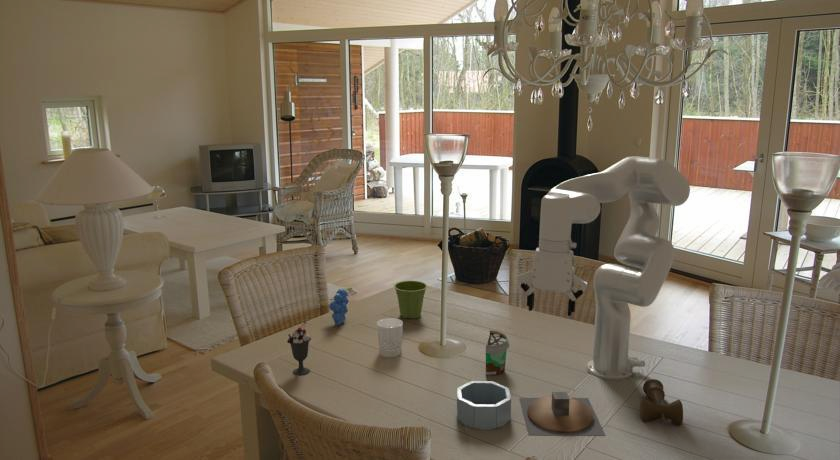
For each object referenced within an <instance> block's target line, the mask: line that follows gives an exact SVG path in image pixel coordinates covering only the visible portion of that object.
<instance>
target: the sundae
mask: <svg viewBox="0 0 840 460" xmlns="http://www.w3.org/2000/svg"><path fill="white" fill-rule="evenodd" d="M306 324H307V321H304V322H303V324H301V327H297V329H296V330H294V331H293V332H292V335H291V334H287V335H288V339H287V343H288V344H290V348H291V352H292V356H293V359H295V361H297V362H298V368H295V369H293V370H292V375H295V376H299V377H300V376H301V377H302V376H305V375H308V374H309V373H310V372H311V370H310V369H309V368H308V367H305V366H304V361H305V360H306V359H307V357H308V354H309V344H310V341H311V340H312V338H311V336H310V335H309V334H308V333H307V330H306V328H302V327H304V326H305V325H306Z"/></svg>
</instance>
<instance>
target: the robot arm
mask: <svg viewBox="0 0 840 460" xmlns="http://www.w3.org/2000/svg"><path fill="white" fill-rule="evenodd" d="M690 191H691V185H690V182H689V180H688V179H687V177H686V176H685V175H684V174H683V173H682V172H681V171H679V170H678V169H677V167H675V166H674V165H673V164H671V162H669V161H667V160H665V159H663V158H658V157H647V156H638V155H635V156H633V155H632V156H626V157H624V158H623V159H621V160H619V161H617V162H616V163H614V164H612V165H610V167H607V168H606V169H604V170H602V171H600V172H596V173H591V174H586V175H582V176H578V177H575V178H570V179H568V180H565V181H563V182H560V183H559V184H557V185H556V186H553V187H552V188H551V189H550V190H549V191H548V192H547V193H546V195H544V196H543V197H542V198H541V201H540V202H541V203H540V216H539V217H540V218H539V219H540V220H539V237H538V239H539V240H538V247H536V249H535V251H534V252H535V253H534V256H533V262H532V267H531V268H532V269H531V270H529V271H526V272H523V273H521V274H519V275H518V276H517V277H516V278H517V281H518V283H519V285H520V287H521V289H522V290H523V291H524V292H525V294H526V295H527V296H526V307H528V311H529V312H532V311H533V309H534V308H535V292H534V291H536V290H541V291H548V292H557V293H565V294H566V295H567V296H568V297H569V298H568V299H569V300H568V302H567V316H568V317H571V316H572V314H573V313H575V310H576V300H577V299H579V297H581V296H582V295H583V294H584V292H585V291H586V289H587V288H588V286H589V283H588V282H587V281H585V280H584V279H582V278H580V277H578V275H576V274H575V256H574V251H573V250H571V249H576V248H577V242H574V241H572V238H571V237H572V225H573V224H590V223H592V222H594V221H595V220H596V219H597V218H598V216H599V215H600V213H601V204H605V203H612V202H616V201H618V200H620V199H622V198H623V197H624V196H626V195H628V197H629V204H630V216H629V218H628V221H627V223H626V225H625V226H624V228H623V230H622V232H621V234H620V236H619V238H618V240H617V242H616V245H615V246H614V247H615V248H614V251H613V255H614V258H615V260H617V262H619V263H621V264H617V263H606V264H605V263H604V264H602V265H600V266H599V267H598V268H597V269H596V270H595V272H594V274H593V289H594V296H595V319H594V333H593V334H594V335H593V350H592V352H593V354H592V359H591V360H589V361H588V362H587V363H586V369H587V372H589V373H590V375H594V376H595V377H598V378H602V379H606V380H613V381H614V380H615V381H616V380H624V379H628V378H630V377H632V375H633V373H634V371H633V369H634V367H638V368H639V367H641V368H645V366H646V362H645V360H644V359H638V357H637V356H634V357H633V356H632V357H630V356H629V347H630V344H629V343H630V331H631V319H632V316H631V309H630V307H629V304H630V305H633V306H638V307H641V308H646V307H647V308H648V307H649V306H651V305H652V304H653V303H654V302H655V300H656V299H657V297H658V295H659V293H660V291H661V289H662V287H663V285H664V283H665V280H666V278H667V276H668V275H669V273H670V270H671V268H672V266H673V262H674V257H675V248H674V244H673V243H672V242H671V241H670V240H668V239H666V238H664V237H661V236H656V235H657V233H658V231H659V228H660V226H661V221H660V216H659V214H658V212H657V210H656V208H655V205H654V204H657V205H663V206H664V205H666V206H669V207H671V206H673V207H679V206H681V205H683V204H685V203H686V202H687V201H688V199H689V197H690V193H691V192H690ZM622 264H623V265H622ZM626 265H627V266H626ZM638 268H639V269H638ZM641 269H642V270H641ZM528 278H530V285H529V284H528V283H527V282H526V280H525V279H528ZM574 284H577V285H578V286H580V288H579V289H578V290H576V291H575V290H574V289H573V287H574Z"/></svg>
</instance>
